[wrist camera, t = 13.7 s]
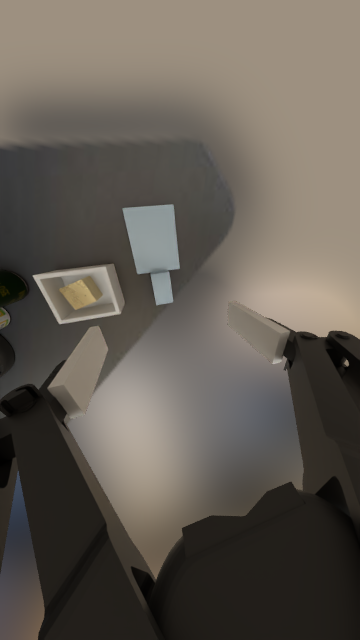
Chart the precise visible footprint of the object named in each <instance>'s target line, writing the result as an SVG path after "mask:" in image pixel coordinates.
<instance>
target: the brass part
mask: <svg viewBox="0 0 360 640" xmlns="http://www.w3.org/2000/svg"><path fill="white" fill-rule="evenodd" d="M59 291H60V292H61V293H62V294H63V295H64V297H65V298H66V299H67V300H68V302H69V303H70V304H71V305H72V306H73V308H74V309H75V310H77V309H79V308H82V307H84V306H86V305H89V304H91V303H93V302H96V301H97V300H98V299H99V298H100V297H101V296H102V295H103V294H102V293H101V291H100V290H99V288H98V287H97V285H96V284H95V282H94V281H93V279H92V278H91V276H88V277H86V278H83V279H81V280H79V281H76V282H74V283H72V284H69V285H67V286H65V287H63V288H60V289H59Z"/></svg>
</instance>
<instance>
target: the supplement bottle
mask: <svg viewBox="0 0 360 640" xmlns="http://www.w3.org/2000/svg"><path fill="white" fill-rule="evenodd" d="M9 322H10V316H9V314H8V312H7V311H6V310H5V309H4V308H2V307H1V308H0V329H2V328H4V327H5V326H7V325H8V324H9Z"/></svg>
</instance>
